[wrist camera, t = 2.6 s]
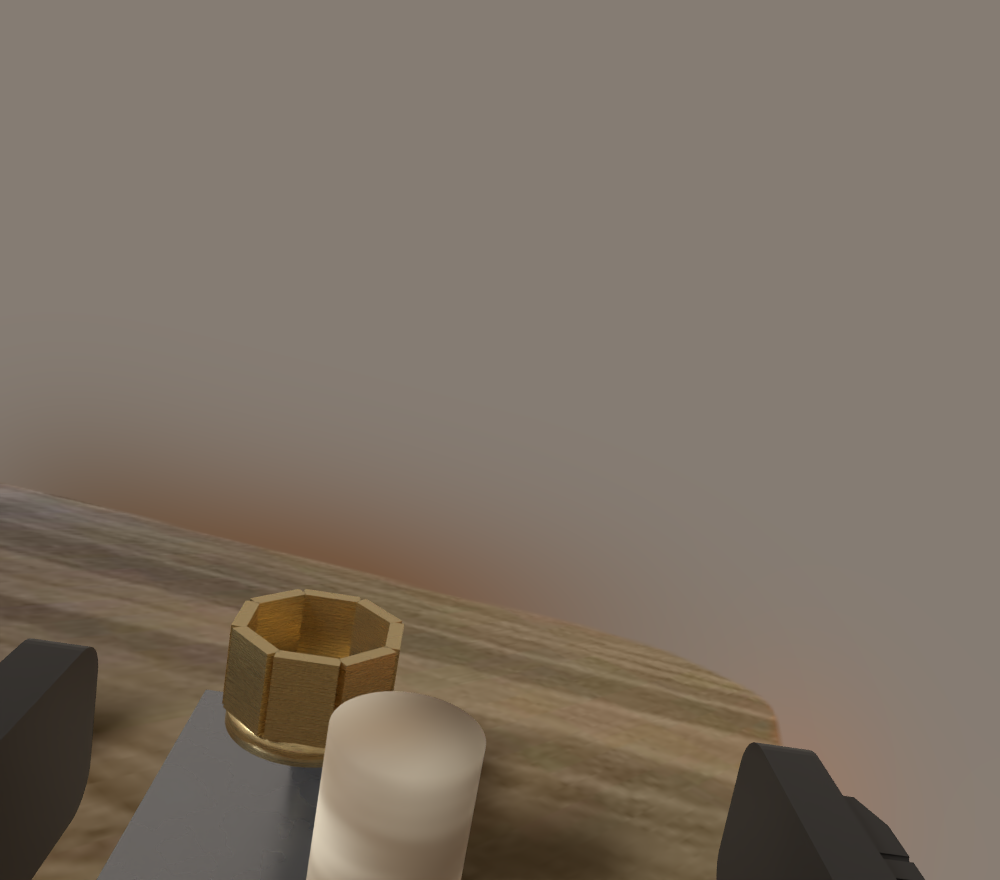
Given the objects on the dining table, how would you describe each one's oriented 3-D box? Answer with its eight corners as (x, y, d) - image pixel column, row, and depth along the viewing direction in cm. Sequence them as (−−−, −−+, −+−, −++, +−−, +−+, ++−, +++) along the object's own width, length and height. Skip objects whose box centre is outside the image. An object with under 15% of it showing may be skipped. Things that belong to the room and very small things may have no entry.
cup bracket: (440, 970, 37) (488, 708, 35) (81, 925, 36) (104, 653, 34) (450, 740, 54) (484, 551, 51) (204, 705, 53) (226, 512, 51)
